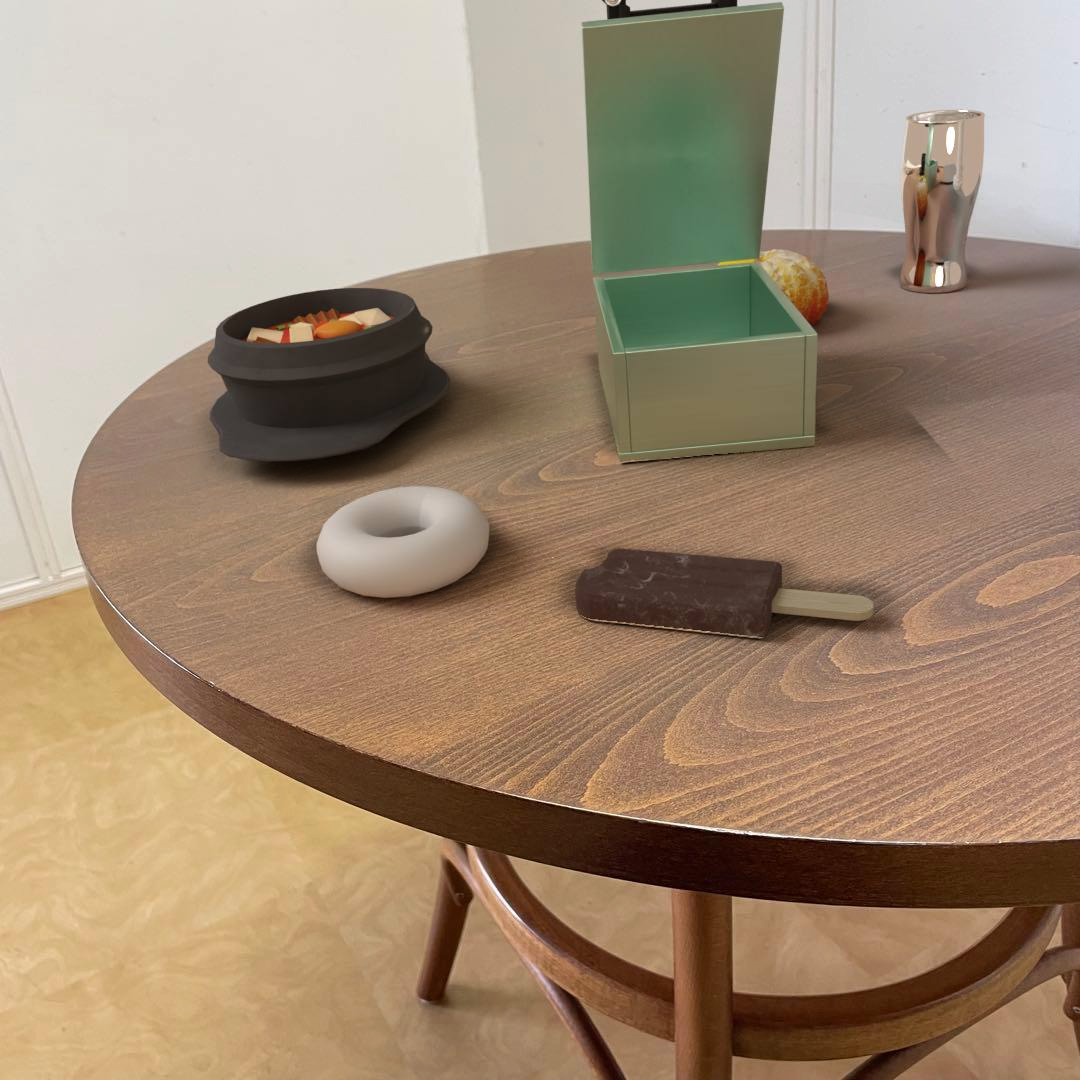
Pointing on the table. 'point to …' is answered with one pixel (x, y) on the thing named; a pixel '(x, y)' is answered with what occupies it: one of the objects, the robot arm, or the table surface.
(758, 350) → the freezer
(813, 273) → the fruit
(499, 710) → the table surface
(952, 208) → the beer glass
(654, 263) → the freezer lid
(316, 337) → the casserole
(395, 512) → the donut
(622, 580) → the ice cream bar
